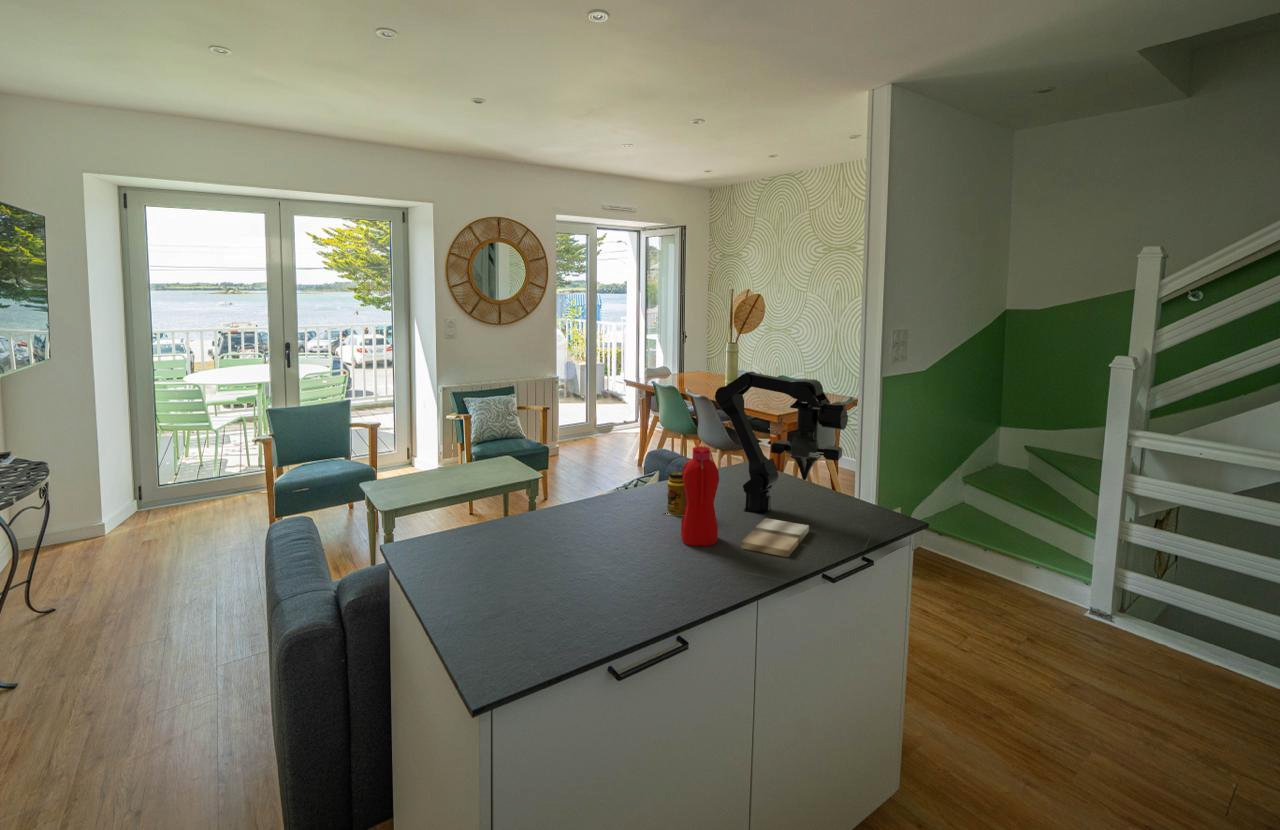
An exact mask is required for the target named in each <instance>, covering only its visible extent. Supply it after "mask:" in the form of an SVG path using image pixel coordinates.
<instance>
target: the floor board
mask: <svg viewBox="0 0 1280 830" xmlns="http://www.w3.org/2000/svg"><path fill="white" fill-rule="evenodd" d="M799 545H800V542H799V537H794V536H788V535H783V534H777V533H772V532H766V531H760V530H755V529H753V530H752V531H751V532H750V533H749V534H748V535H747V536H746V537H744V539H743V540H741V545H740V548H741V549H743V550H748V551H754V552H758V553H759V552H760V553H764V554H769V555H775V556H780V557H785V558H789V557H790V556H791V554H793V552H794V551H795V550H796V548H797V547H798V546H799Z"/></svg>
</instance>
